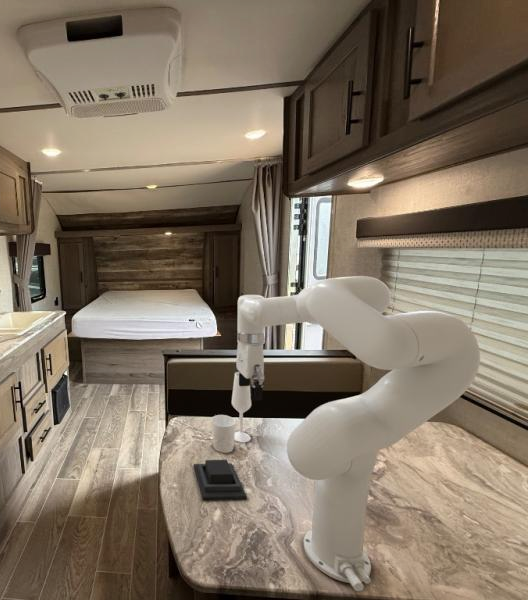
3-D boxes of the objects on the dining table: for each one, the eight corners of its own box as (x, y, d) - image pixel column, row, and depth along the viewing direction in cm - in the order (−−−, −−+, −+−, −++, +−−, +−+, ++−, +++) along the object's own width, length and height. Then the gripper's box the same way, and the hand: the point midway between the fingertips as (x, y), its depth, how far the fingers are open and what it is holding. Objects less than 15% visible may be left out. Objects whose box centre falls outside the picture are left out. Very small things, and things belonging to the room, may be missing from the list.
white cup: (210, 452, 111) (210, 424, 110) (212, 439, 119) (212, 413, 117) (234, 455, 109) (235, 428, 107) (235, 442, 116) (235, 416, 115)
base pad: (246, 499, 90) (246, 491, 90) (202, 500, 90) (202, 492, 90) (231, 466, 104) (231, 458, 103) (193, 466, 104) (193, 459, 104)
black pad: (233, 486, 94) (233, 474, 93) (210, 487, 94) (210, 474, 93) (226, 471, 100) (226, 459, 99) (205, 471, 100) (205, 460, 99)
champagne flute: (245, 431, 123) (246, 370, 119) (253, 441, 116) (255, 377, 113) (228, 432, 122) (228, 371, 119) (235, 442, 116) (236, 378, 112)
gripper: (228, 330, 104) (228, 381, 107) (248, 346, 87) (248, 406, 89) (252, 329, 104) (251, 380, 107) (277, 345, 87) (275, 405, 89)
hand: (250, 392), depth 98 cm, fingers open, 9 cm apart
